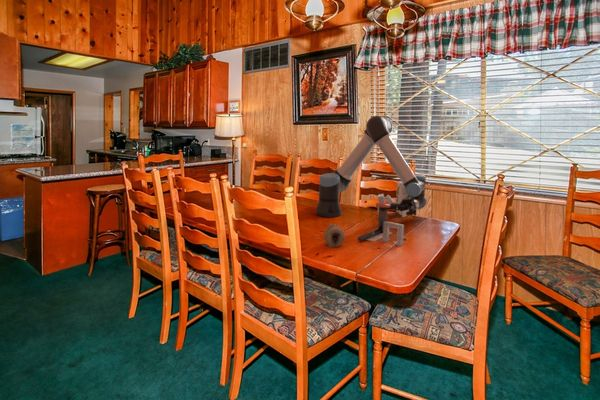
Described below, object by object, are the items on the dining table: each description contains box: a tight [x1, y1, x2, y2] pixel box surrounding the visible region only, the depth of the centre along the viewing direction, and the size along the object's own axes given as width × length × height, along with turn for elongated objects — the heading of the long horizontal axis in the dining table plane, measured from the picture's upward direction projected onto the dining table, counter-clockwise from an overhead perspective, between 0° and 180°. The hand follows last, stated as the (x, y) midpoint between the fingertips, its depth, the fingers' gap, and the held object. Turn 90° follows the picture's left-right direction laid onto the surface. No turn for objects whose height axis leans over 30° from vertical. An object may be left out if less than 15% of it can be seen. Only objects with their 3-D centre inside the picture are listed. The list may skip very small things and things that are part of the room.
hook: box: [357, 201, 391, 242], centre depth 179 cm, size 7×24×14 cm, turn 139°
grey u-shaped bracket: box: [380, 221, 405, 247], centre depth 171 cm, size 9×5×9 cm, turn 50°
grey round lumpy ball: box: [323, 223, 346, 248], centre depth 167 cm, size 9×8×10 cm
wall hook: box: [377, 193, 396, 204], centre depth 239 cm, size 8×10×10 cm
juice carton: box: [395, 181, 411, 216], centre depth 225 cm, size 8×9×19 cm
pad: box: [357, 231, 394, 243], centre depth 182 cm, size 9×18×1 cm, turn 140°
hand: (390, 212), depth 190 cm, fingers open, 13 cm apart
